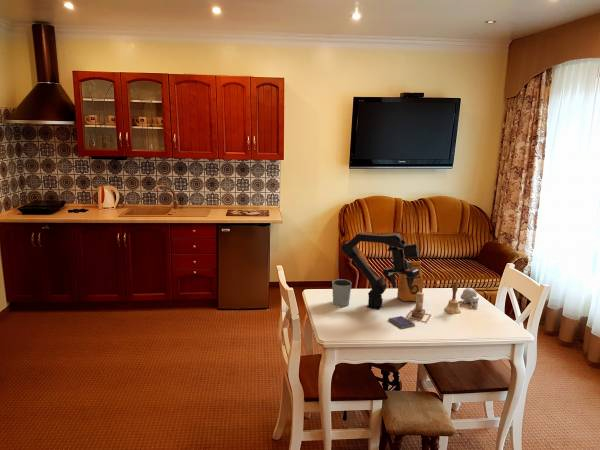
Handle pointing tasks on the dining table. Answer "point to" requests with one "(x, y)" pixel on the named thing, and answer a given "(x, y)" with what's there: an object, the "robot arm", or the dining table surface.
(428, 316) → the marked card
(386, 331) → the dining table surface
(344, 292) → the grey cup
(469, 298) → the round bodied animal figurine
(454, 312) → the hand bell
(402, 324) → the ink pad
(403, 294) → the coffee package
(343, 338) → the dining table surface
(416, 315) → the stamp
